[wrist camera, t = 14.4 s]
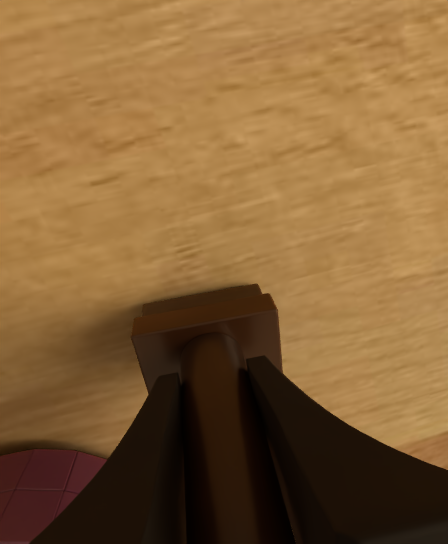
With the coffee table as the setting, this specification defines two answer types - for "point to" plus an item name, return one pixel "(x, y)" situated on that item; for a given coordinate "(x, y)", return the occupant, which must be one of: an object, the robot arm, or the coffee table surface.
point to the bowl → (40, 489)
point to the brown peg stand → (219, 409)
